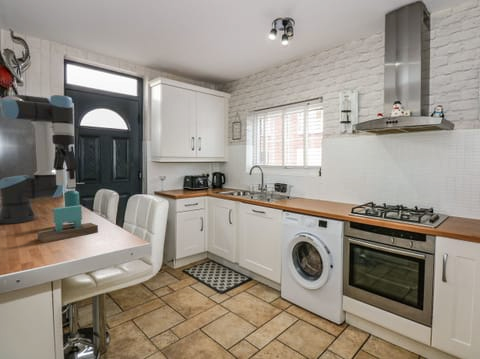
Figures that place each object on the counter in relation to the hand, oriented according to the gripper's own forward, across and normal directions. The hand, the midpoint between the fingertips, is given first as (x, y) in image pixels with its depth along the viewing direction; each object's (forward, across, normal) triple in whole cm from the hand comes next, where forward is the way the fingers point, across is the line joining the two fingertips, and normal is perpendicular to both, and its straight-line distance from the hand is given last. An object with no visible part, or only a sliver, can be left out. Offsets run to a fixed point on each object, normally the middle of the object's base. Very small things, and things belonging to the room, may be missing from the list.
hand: (65, 186), depth 113 cm
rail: (+21, +1, 0) cm, 21 cm away
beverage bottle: (+21, -19, +8) cm, 30 cm away
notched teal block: (+21, +1, 0) cm, 21 cm away
